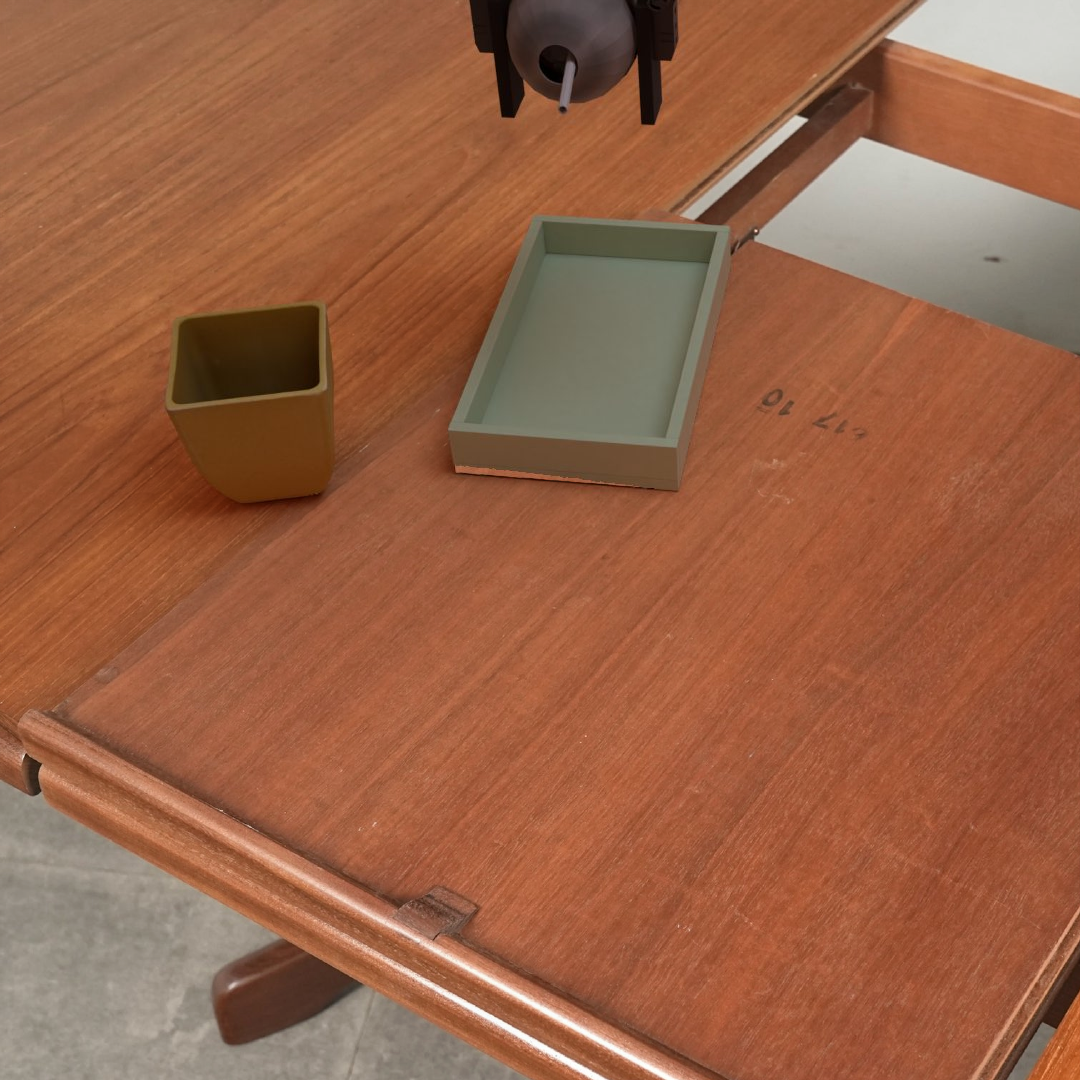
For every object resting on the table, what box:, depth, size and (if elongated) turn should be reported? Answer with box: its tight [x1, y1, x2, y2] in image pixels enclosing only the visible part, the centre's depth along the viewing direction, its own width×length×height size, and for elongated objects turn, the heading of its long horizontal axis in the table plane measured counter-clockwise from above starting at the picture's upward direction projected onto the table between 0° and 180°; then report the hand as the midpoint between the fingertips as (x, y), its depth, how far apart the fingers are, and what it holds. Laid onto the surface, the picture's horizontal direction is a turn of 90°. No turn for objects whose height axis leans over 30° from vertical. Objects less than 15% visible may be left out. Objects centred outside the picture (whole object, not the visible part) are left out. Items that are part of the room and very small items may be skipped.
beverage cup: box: [507, 0, 638, 116], centre depth 84 cm, size 7×7×20 cm
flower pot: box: [164, 300, 336, 504], centre depth 90 cm, size 9×9×9 cm
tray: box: [447, 214, 732, 492], centre depth 99 cm, size 24×14×3 cm, turn 172°
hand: (582, 108), depth 87 cm, fingers closed on beverage cup, 7 cm apart
